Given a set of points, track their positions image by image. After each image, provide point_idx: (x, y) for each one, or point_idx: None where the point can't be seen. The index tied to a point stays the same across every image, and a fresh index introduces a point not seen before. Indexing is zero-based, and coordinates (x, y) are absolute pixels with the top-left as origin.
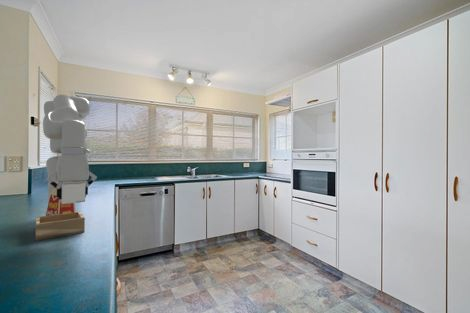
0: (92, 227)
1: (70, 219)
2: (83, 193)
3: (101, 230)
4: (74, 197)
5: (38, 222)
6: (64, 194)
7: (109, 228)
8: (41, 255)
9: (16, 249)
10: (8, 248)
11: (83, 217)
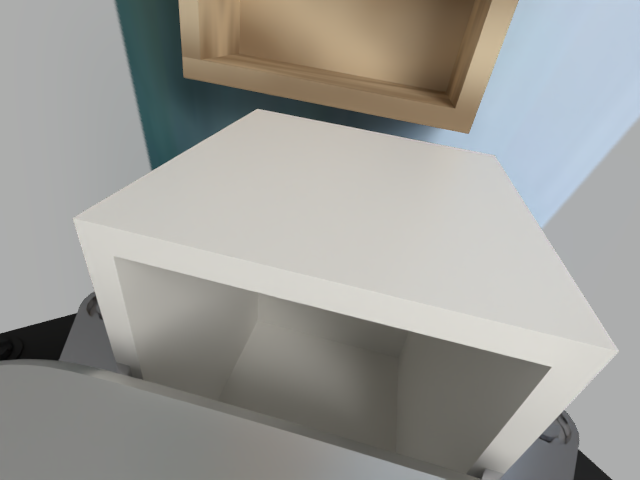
0: (560, 10)
1: (377, 101)
2: (390, 429)
3: (538, 151)
4: (320, 377)
5: (192, 8)
6: (232, 389)
7: (598, 148)
8: None
9: (175, 139)
10: (146, 95)
11: (469, 112)
